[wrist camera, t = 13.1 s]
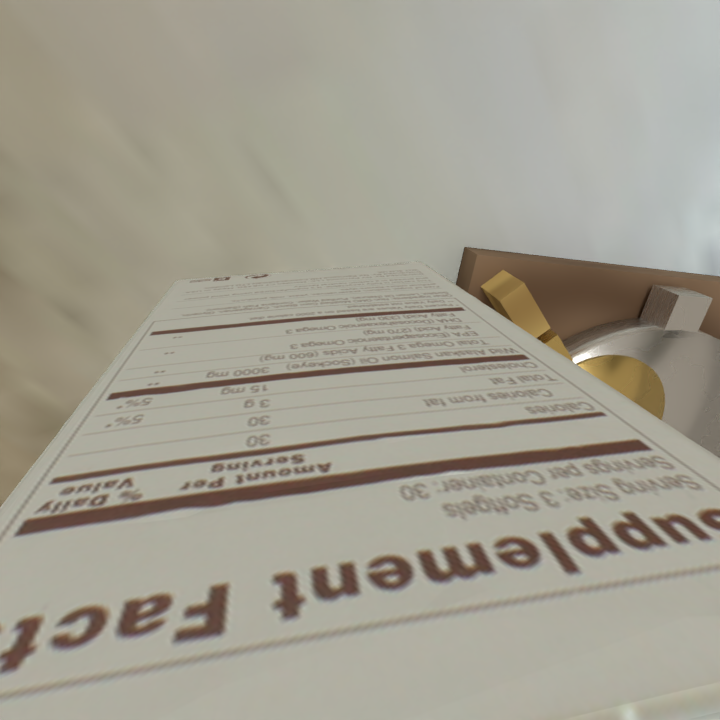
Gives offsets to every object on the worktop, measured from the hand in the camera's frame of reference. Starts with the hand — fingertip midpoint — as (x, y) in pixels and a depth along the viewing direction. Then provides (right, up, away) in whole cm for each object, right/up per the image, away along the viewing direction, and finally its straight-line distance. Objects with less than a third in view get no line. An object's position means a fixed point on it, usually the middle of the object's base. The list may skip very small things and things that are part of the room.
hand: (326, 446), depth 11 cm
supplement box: (-1, +2, +4) cm, 4 cm away
